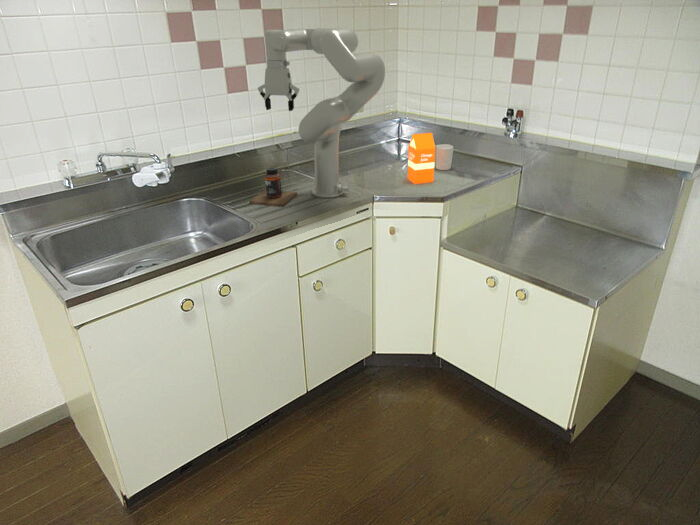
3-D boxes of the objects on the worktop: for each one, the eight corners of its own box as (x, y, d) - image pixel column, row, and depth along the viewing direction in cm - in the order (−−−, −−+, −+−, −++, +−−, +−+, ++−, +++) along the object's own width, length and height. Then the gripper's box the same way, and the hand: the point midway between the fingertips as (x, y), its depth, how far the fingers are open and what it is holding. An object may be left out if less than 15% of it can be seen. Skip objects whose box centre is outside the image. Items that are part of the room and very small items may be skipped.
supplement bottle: (281, 193, 210) (279, 165, 205) (282, 198, 204) (280, 170, 199) (266, 194, 209) (264, 166, 204) (266, 199, 204) (264, 171, 199)
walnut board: (297, 194, 211) (297, 192, 211) (283, 206, 199) (283, 204, 199) (265, 191, 215) (265, 189, 214) (250, 203, 203) (249, 200, 202)
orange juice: (433, 181, 224) (436, 134, 215) (414, 184, 222) (416, 136, 213) (425, 176, 231) (428, 130, 222) (407, 178, 228) (408, 132, 219)
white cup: (454, 167, 242) (456, 145, 238) (447, 171, 236) (449, 149, 232) (438, 164, 246) (440, 143, 242) (431, 169, 240) (432, 147, 236)
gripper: (301, 64, 205) (303, 109, 212) (260, 63, 209) (264, 107, 217) (293, 66, 198) (296, 112, 206) (251, 65, 203) (256, 110, 211)
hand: (279, 109), depth 211 cm, fingers open, 9 cm apart
